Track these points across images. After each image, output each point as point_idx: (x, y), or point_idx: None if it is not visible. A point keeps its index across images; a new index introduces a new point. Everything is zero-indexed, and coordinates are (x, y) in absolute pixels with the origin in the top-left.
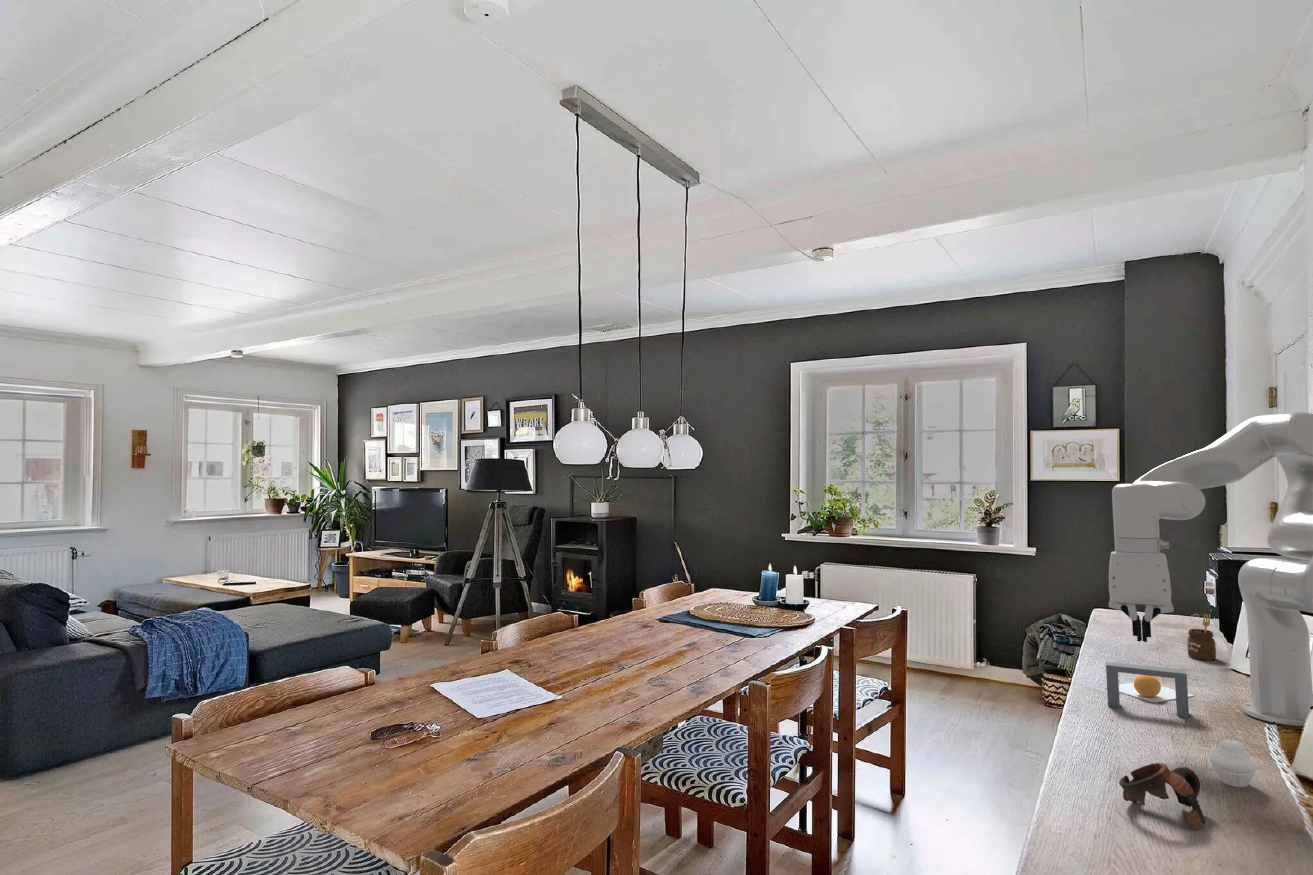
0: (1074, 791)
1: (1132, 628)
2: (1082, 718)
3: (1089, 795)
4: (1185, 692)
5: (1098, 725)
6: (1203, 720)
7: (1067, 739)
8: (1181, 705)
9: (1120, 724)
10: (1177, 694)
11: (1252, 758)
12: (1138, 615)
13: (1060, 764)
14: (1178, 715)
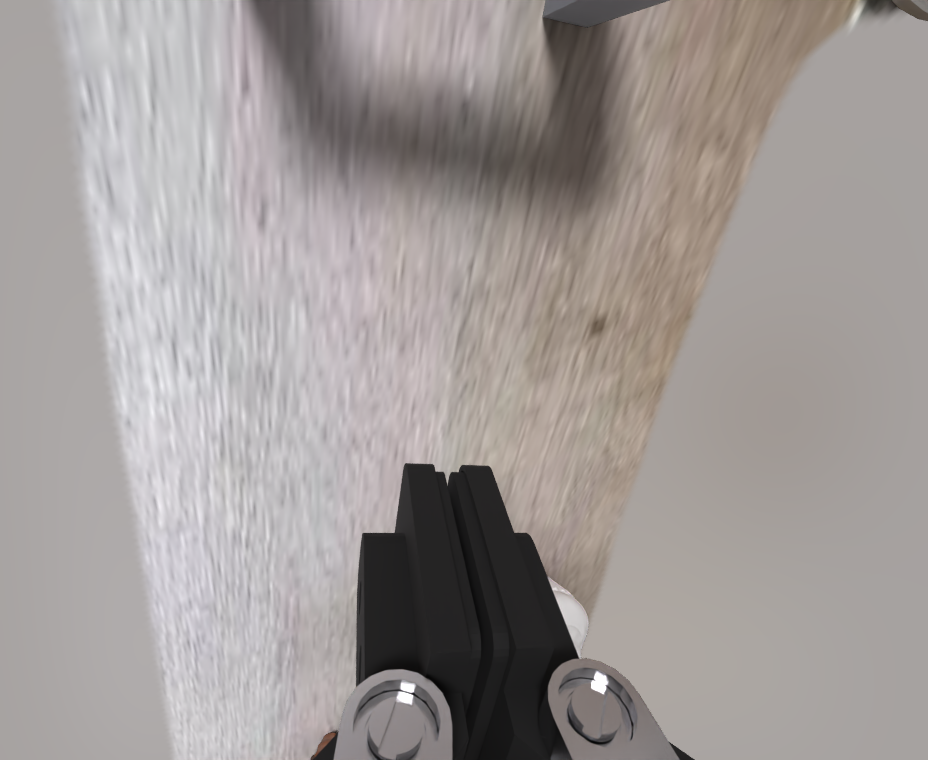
0: (217, 745)
1: (356, 660)
2: (138, 232)
3: (247, 746)
4: (632, 7)
5: (215, 304)
6: (632, 54)
7: (137, 492)
8: (580, 14)
9: (297, 256)
10: (588, 2)
11: (583, 640)
12: (459, 755)
13: (161, 655)
14: (549, 17)
